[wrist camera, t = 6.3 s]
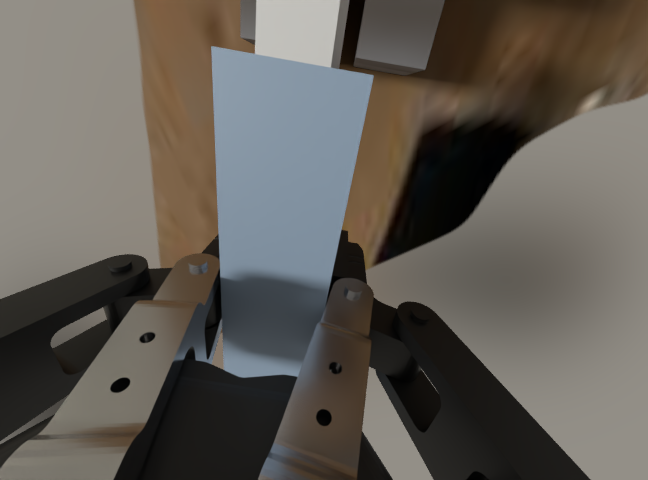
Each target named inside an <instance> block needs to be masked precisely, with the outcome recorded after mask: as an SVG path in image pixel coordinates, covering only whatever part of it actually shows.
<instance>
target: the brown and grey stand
mask: <svg viewBox="0 0 648 480" xmlns="http://www.w3.org/2000/svg"><path fill="white" fill-rule="evenodd" d="M444 2H445V0H365V1H364V7H363V13H362V19H361V25H360V30H359V36H358V42H357V48H356V54H355V59H354V65H353V67H358V68H364V69H370V70H375V71H381V72H387V73H392V74H398V75H404V76H406V75H409V74H412V73H416V72H419V71H423V70H425V69H426V65H427V62H428V58H429V55H430V51H431V48H432V44H433V41H434V37H435V34H436V30H437V27H438V23H439V19H440V16H441V12H442V9H443V5H444ZM255 34H256V0H241V38H243V39H245V40H246V41H248V42H250V43H252V44H254V45H255Z"/></svg>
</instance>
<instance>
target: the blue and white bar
mask: <svg viewBox="0 0 648 480" xmlns="http://www.w3.org/2000/svg"><path fill="white" fill-rule="evenodd" d="M348 7H349V0H256V34H255V54H252V53H246V52H241V51H235V50H230V49H224V48H218V47H213V46H211V49H212V75H213V101H214V126H215V152H216V177H217V203H218V229H219V254H220V280H221V306H222V331H223V357H224V370H225V371H227V372H229V373H231V374H234V375H236V376H238V377H243V378H246V377H258V376H271V375H283V374H284V375H290V376H296V377H298V375H299V372H300V369H301V366H302V364H303V361H304V358H305V356H306V353H307V350H308V347H309V345H310V342H311V339H312V336H313V334H314V331H315V328H316V325H317V323H318V322H320V321H321V318H322V315H323V313H324V310H325V306H326V301H327V296H328V292H329V287H330V282H331V277H332V273H333V268H334V263H335V258H336V253H337V249H338V244H339V239H340V234H341V230H342V225H343V220H344V215H345V210H346V206H347V201H348V196H349V191H350V187H351V182H352V177H353V172H354V167H355V163H356V158H357V153H358V148H359V144H360V139H361V134H362V129H363V124H364V120H365V115H366V110H367V105H368V101H369V96H370V91H371V86H372V81H373V77H374V75H369V74H364V73H358V72H352V71H347V70H341V69H339V65H340V59H341V52H342V46H343V39H344V33H345V26H346V20H347V13H348Z"/></svg>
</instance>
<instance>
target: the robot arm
mask: <svg viewBox="0 0 648 480" xmlns="http://www.w3.org/2000/svg"><path fill="white" fill-rule="evenodd" d="M102 307H103V308H104V311H105V314H106V317H107V320H105V321H103V322H101V323H100V324H97V325H96V326H94V327H92V328H90V329H88V330H86V331H85V332H83V333H81V334H79V335H78V336H75V337H74V338H72V339H70V340H68V341H66V342H64V343H63V344H61V345H59V346H57V347H55V348H53V349H52V347H51V345H50V342H51V339H52V337H53V336H54V334H55V333H56V332H57V331H58V330H60V329H61V328H63V327H65V326H66V325H69V324H70V323H73V322H75V321H77V320H79V319H80V318H82V317H84V316H86V315H88V314H90V313H92V312H94V311H96V310H98V309H100V308H102ZM221 328H222V306H221V280H220V254H219V234H218V235H217V236H216V237H215V239H214V240H213V241H212V242H211V243H210V244H209V245H208V246H207V247H206V249H205V250H204V251H203V252H202V253H199V254H192V255H188V256H185V257H183V258H181V259H180V260H178V261H177V263H176V264H175V265H174V267H173V268H159V269H149V268H148V263H147V260H146V259H145V258H144V257H142V256H138V255H129V254H127V255H119V256H114V257H110V258H107V259H105V260H102V261H99V262H97V263H94V264H91V265H89V266H86V267H84V268H81V269H78V270H76V271H73V272H71V273H68V274H65V275H63V276H60V277H58V278H55V279H52V280H50V281H47V282H45V283H42V284H39V285H36V286H34V287H31V288H29V289H26V290H23V291H21V292H18V293H15V294H13V295H10V296H8V297H5V298H2V299H0V441H1V440H2V439H4V438H5V437H7V436H8V435H10V434H11V433H13V432H14V431H15V430H17V429H19V428H20V427H22V426H23V425H25V424H26V423H27V422H29V421H30V420H32V419H33V418H35V417H36V416H38V415H39V414H41V413H42V412H44V411H45V410H47V409H48V408H50V407H51V406H52V405H54V404H55V403H57V402H58V401H60V400H61V399H63V398H64V397H66V396H67V395H69V396H68V397H67V399H66V400H65V401H64V403H63V404H62V406H61V407H60V409H59V410H58V411H57V413H56V414H54V415H53V416H51V417H49V418H47V419H45V420H44V421H42V422H40V423H38V424H36V425H35V426H33V427H31V428H29V429H27V430H26V431H24V432H22V433H20V434H18V435H17V436H15V437H13V438H11V439H9V440H8V441H6V442H4V443H2V444H0V480H393V479H392V477H391V476H390V474H389V473H388V471H387V470H386V468H385V467H384V465H383V463H382V462H381V460H380V459H379V457H378V455H377V454H376V452H375V451H374V449H373V448H372V446H371V444H370V443H369V441H368V440H367V438H366V437H365V435H364V433H363V432H362V425H363V416H364V407H365V398H366V388H367V379H368V370H369V367H371V368H374V369H376V374H377V376H378V378H379V380H380V382H381V384H382V386H383V388H384V389H385V391H386V393H387V395H388V396H389V399H390V400H391V402H392V404H393V406H394V408H395V409H396V411H397V413H398V415H399V417H400V419H401V421H402V422H403V424H404V426H405V428H406V430H407V431H408V433H409V435H410V437H411V439H412V441H413V442H414V444H415V446H416V448H417V450H418V452H419V453H420V455H421V457H422V459H423V461H424V462H425V464H426V466H427V468H428V470H429V472H430V474H431V475H432V477H433V479H434V480H590V479H589V478H588V477H587V475H586V474H585V473H584V472H583V471H582V470H581V469H580V468H579V467H578V466H577V465H576V464H575V463H574V461H573V460H572V459H571V458H570V457H569V456H568V455H567V454H566V453H565V452H564V451H563V450H562V449H561V447H560V446H559V445H558V444H557V443H556V442H555V441H554V440H553V439H552V438H551V437H550V436H549V435H548V433H547V432H546V431H545V430H544V429H543V428H542V427H541V426H540V425H539V424H538V423H537V422H536V420H535V419H533V417H532V416H531V415H530V414H529V413H528V412H527V411H526V410H525V409H524V408H523V407H522V405H521V404H520V403H519V402H518V401H517V400H516V399H515V398H514V397H513V396H512V395H511V394H510V392H509V391H508V390H507V389H506V388H505V387H504V386H503V385H502V384H501V383H500V382H499V381H498V380H497V379H496V377H495V376H494V375H493V374H492V373H491V372H490V371H489V370H488V369H487V368H486V367H485V366H484V364H483V363H482V362H481V361H480V360H479V359H478V358H477V357H476V356H475V355H474V354H473V353H472V352H471V351H470V349H469V348H468V347H467V346H466V345H465V344H464V343H463V342H462V341H461V340H460V339H459V338H458V337H457V335H456V334H455V333H454V332H453V331H452V330H451V329H450V328H449V327H448V326H447V325H446V323H445V322H444V321H443V320H442V319H441V318H440V317H439V316H438V315H437V314H436V313H435V312H434V311H433V310H432V309H430V308H429V307H427V306H425V305H423V304H420V303H417V302H404V303H402V304H400V305H399V306H398V308H397V309H396V308H393V307H391V306H388V305H386V304H383V303H381V302H380V301H378V300H377V299H375V298H374V294H373V291H372V289H371V288H370V287H369V286H368V285H367V281H366V272H365V265H364V254H363V250H362V248H361V247H360V246H359V245H358V244H357V243H351V242H348V231H345V230H341V234H340V239H339V244H338V249H337V253H336V258H335V263H334V268H333V273H332V277H331V282H330V287H329V292H328V296H327V301H326V306H325V310H324V313H323V315H322V318H321V321H320V322H318V323H317V325H316V328H315V331H314V334H313V336H312V339H311V342H310V345H309V347H308V350H307V353H306V356H305V358H304V361H303V364H302V366H301V369H300V372H299V375H298V377H296V376H290V375H284V374H283V375H271V376H258V377H246V378H243V377H238V376H236V375H234V374H231V373H229V372H227V371H225V370H223V369H220V368H218V367H216V366H214V365H212V364H211V363H212V360H213V356H214V353H215V349H216V346H217V342H218V338H219V335H220V332H221ZM421 369H422V370H423V371H424V373H425V374H426V375H427V377H428V378H429V380H430V381H431V382H432V384H433V385H434V387H435V388H436V390H437V391H436V390H435V388H434V387H433V385H432V384H431V382H430V381H429V380H428V378H427V377H426V375H425V374H424V373H423V371H422V370H421Z"/></svg>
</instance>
